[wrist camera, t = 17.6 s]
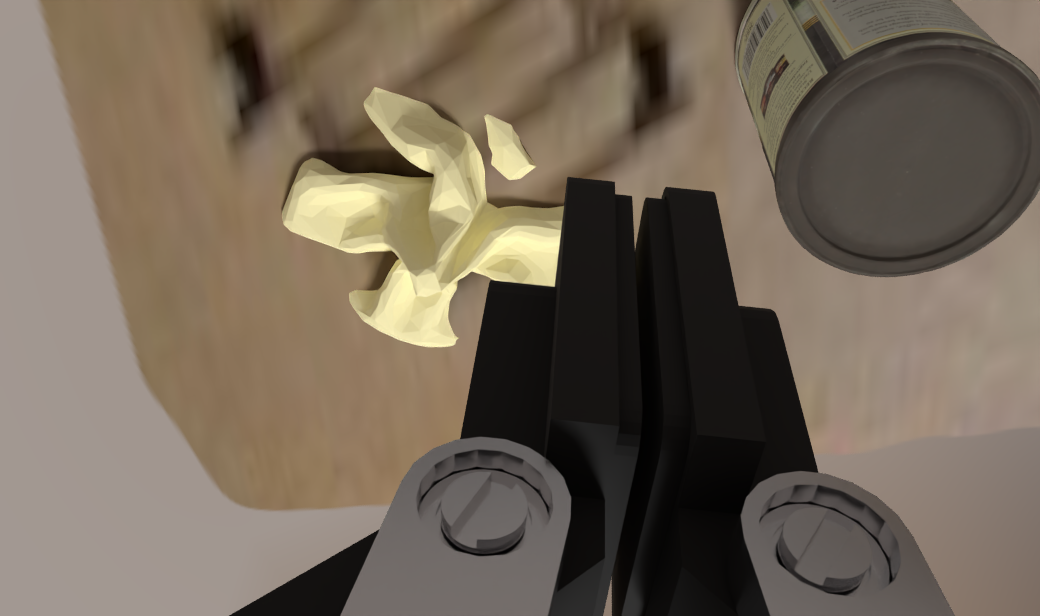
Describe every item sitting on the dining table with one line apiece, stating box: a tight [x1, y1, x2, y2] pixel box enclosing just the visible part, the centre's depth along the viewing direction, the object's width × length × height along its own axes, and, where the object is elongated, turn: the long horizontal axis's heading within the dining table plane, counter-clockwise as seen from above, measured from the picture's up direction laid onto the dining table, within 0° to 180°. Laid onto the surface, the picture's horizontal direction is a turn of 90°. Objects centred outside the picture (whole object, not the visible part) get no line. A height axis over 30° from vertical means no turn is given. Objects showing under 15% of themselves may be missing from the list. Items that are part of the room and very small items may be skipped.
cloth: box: [282, 87, 564, 347], centre depth 51 cm, size 22×19×6 cm
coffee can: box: [735, 0, 1040, 277], centre depth 40 cm, size 10×10×14 cm
